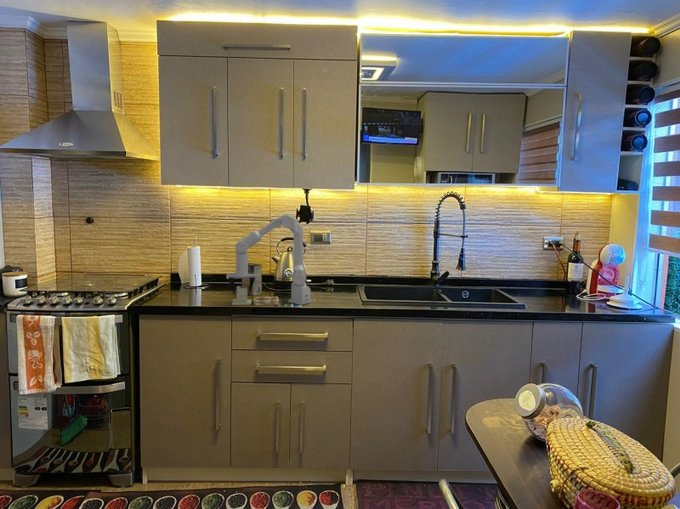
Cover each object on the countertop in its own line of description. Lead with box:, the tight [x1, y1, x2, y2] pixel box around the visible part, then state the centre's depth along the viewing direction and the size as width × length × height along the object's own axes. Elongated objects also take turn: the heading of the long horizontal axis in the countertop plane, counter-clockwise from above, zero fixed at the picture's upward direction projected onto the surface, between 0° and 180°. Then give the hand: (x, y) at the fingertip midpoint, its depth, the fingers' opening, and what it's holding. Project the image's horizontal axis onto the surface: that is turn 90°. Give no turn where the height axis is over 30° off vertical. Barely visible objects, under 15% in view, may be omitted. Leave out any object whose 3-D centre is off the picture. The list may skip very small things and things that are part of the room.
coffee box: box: [241, 262, 263, 296], centre depth 252 cm, size 9×6×16 cm
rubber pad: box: [231, 298, 252, 306], centre depth 229 cm, size 9×9×1 cm
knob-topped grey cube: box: [236, 285, 248, 303], centre depth 229 cm, size 5×5×7 cm
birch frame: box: [253, 296, 280, 306], centre depth 230 cm, size 12×10×2 cm
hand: (242, 293), depth 229 cm, fingers open, 7 cm apart
